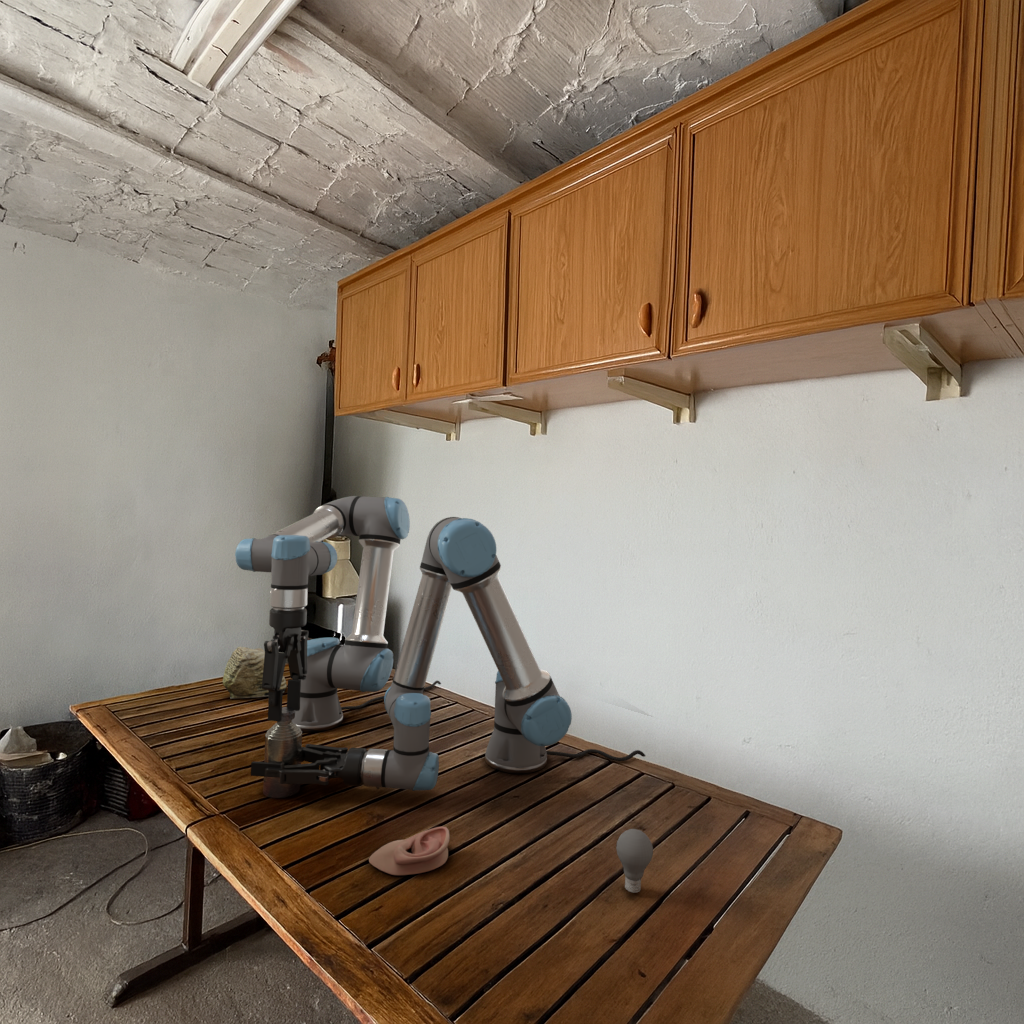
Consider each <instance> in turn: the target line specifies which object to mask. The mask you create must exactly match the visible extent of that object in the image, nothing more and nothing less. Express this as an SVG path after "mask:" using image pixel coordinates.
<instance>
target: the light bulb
mask: <svg viewBox="0 0 1024 1024" xmlns="http://www.w3.org/2000/svg"><path fill="white" fill-rule="evenodd" d="M615 849H616V854H617V857H618V859H619V861H620V863H621V865H622V867H623V873H624V874H623V875H624V876H625V878H624V888H625V890H627V891H628V892H630V893H634V894H635V893H639V892H640V891H641V889H642V887H641V886H642V879H643V877H644V875H645V871H646V868H647V867H648V866H649V864H650V863H651V861H652V859H653V855H654V847H653V843H652V841H651V838H649V836H648V835H647V834H646V833H645V832H643V831H642V830H641V829H636V828H629V829H627V830H625V831H623V832H622V833H621V834H620V835H619V837H618V839H617V841H616V847H615Z"/></svg>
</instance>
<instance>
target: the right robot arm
mask: <svg viewBox="0 0 1024 1024" xmlns="http://www.w3.org/2000/svg"><path fill="white" fill-rule="evenodd" d="M419 570H420V572H421V579H420V582H419V585H418V588H417V592H416V595H415V599H414V603H413V607H412V610H411V613H410V617H409V621H408V624H407V627H406V631H405V635H404V638H403V642H402V646H401V649H400V653H399V655H398V660H397V663H396V667H395V671H394V675H393V677H392V682H391V684H390V686H389V687H388V689H387V690H386V691H385V693H384V695H383V696H384V699H383V703H384V709H385V711H386V713H387V715H388V717H389V719H390V722H391V725H392V726H393V747H392V749H383V748H369V749H368V750H367V748H363V747H350V748H348V747H335V746H328V745H321V744H313V743H307V744H305V746H302V751H301V764H297V765H286V766H284V762H282V763H271V762H264V761H256V760H255V761H251V763H250V777H263V778H264V777H278V778H280V784H300V785H320V786H321V785H322V786H328V785H329V784H330V779H340V778H341V779H342V781H343V785H345V786H349V787H362V786H364V787H369V788H375V789H376V790H380V789H381V788H384V789H397V790H406V791H407V790H409V791H414V792H415V791H431V790H433V789H435V787H436V785H437V782H438V777H439V771H440V770H439V768H440V758H439V755H438V753H436V752H432V751H430V732H431V731H430V730H431V717H432V711H431V699H430V697H429V696H428V695H425V694H424V691H425V690H424V688H425V687H426V683H427V679H428V675H429V672H430V668H431V665H432V661H433V657H434V654H435V650H436V647H437V643H438V640H439V636H440V633H441V629H442V626H443V623H444V618H445V615H446V611H447V607H448V604H449V601H450V598H451V594H452V590H453V591H457V592H460V593H462V595H463V598H464V600H465V602H466V604H467V606H468V609H469V611H470V613H471V614H472V617H473V619H474V620H475V623H476V626H477V628H478V630H479V632H480V634H481V636H482V638H483V641H484V643H485V645H486V647H487V649H488V651H489V654H490V656H491V658H492V660H493V662H494V664H495V666H496V669H497V672H496V677H495V681H494V684H495V690H494V691H495V692H494V694H495V695H494V715H493V717H494V719H493V729H492V732H491V736H490V738H489V741H488V743H487V746H486V748H485V753H484V755H485V756H484V760H485V763H486V764H487V765H488V766H489V767H490V768H492V769H494V770H496V771H500V772H503V773H509V774H529V773H530V774H531V773H536V772H537V771H540V770H542V769H544V768H545V767H546V766H547V763H548V756H556V757H563V758H570V759H578V758H583V757H584V756H586V755H588V754H597V755H599V756H602V757H604V758H606V759H608V760H611V761H614V762H620V763H621V762H626V761H629V760H630V759H632V758H633V757H635V756H636V755H640V757H643V758H644V757H646V754H645V753H644V752H643V751H642V750H639V749H636V750H634V751H632V752H631V753H629V754H628V755H626V756H622V757H621V756H619V757H618V756H612V755H610V754H608V753H606V752H604V751H602V750H600V749H594V748H588V749H585V750H583V751H581V752H579V753H568V752H562V751H552V750H547V749H546V747H549V746H553V745H554V744H555V745H556V744H558V742H560V741H561V740H562V739H563V738H564V737H565V736H566V735H567V733H568V732H569V728H570V726H571V724H572V720H573V718H572V717H573V716H572V715H573V714H572V709H571V707H570V705H569V704H568V702H567V701H566V699H565V698H564V697H562V696H561V695H560V693H559V691H558V690H557V689H558V688H556V685H555V682H554V681H553V678H552V676H551V674H550V673H549V672H548V671H547V670H546V669H545V670H544V669H541V668H540V666H539V663H538V662H537V660H536V657H535V655H534V653H533V651H532V649H531V646H530V644H529V642H528V639H527V637H526V635H525V633H524V631H523V628H522V625H521V624H520V621H519V620H518V618H517V615H516V613H515V611H514V608H513V606H512V604H511V602H510V599H509V597H508V595H507V593H506V591H505V588H504V586H503V584H502V581H501V579H500V577H499V575H500V572H501V570H502V564H501V562H500V561H499V557H498V555H497V543H496V540H495V537H494V535H493V533H492V532H491V530H489V528H488V527H487V526H485V525H484V524H483V523H481V522H480V521H478V520H476V519H473V518H467V517H458V516H448V517H444V518H442V519H440V520H439V521H437V522H436V523H435V524H434V525H433V526H432V528H431V529H430V530H429V533H428V534H427V537H426V542H425V546H424V549H423V554H422V558H421V562H420V565H419ZM423 690H424V691H423ZM302 762H308V763H302Z"/></svg>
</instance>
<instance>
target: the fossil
mask: <svg viewBox="0 0 1024 1024" xmlns="http://www.w3.org/2000/svg"><path fill="white" fill-rule="evenodd" d="M264 657H265V649H263V648H260V647H258V648H251V647H247V646H246V647H245V646H238V647H237V648H236V649H235V650H233V651H232V653H231V656H230V657H229V659H228V660H227V663H226V666H225V668H224V671H223V675H222V676H223V677H222V685H223V687H224V688H225V690H226V691H228V693H229V698H230V699H250V698H264V697H269V691H268V690H265V689H262V678H263V667H264ZM287 688H288V684H287V680H286V678H285V676H284V675H283V678H282V682H281V687H280V689H282V690H283V693H285V691H287V690H286V689H287Z"/></svg>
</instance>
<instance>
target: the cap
mask: <svg viewBox="0 0 1024 1024" xmlns="http://www.w3.org/2000/svg"><path fill="white" fill-rule="evenodd" d="M294 718H295V709H294V708H292V707H287V706H282V721H290V720H292V719H294Z"/></svg>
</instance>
